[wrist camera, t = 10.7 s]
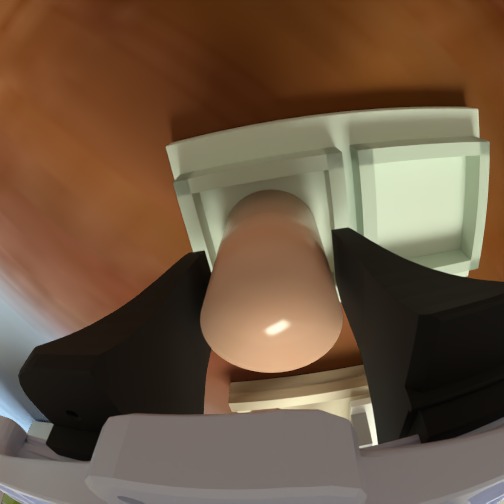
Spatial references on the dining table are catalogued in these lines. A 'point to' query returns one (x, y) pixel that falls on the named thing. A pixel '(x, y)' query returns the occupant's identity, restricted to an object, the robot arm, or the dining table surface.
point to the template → (302, 392)
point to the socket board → (350, 179)
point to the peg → (271, 287)
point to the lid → (363, 422)
